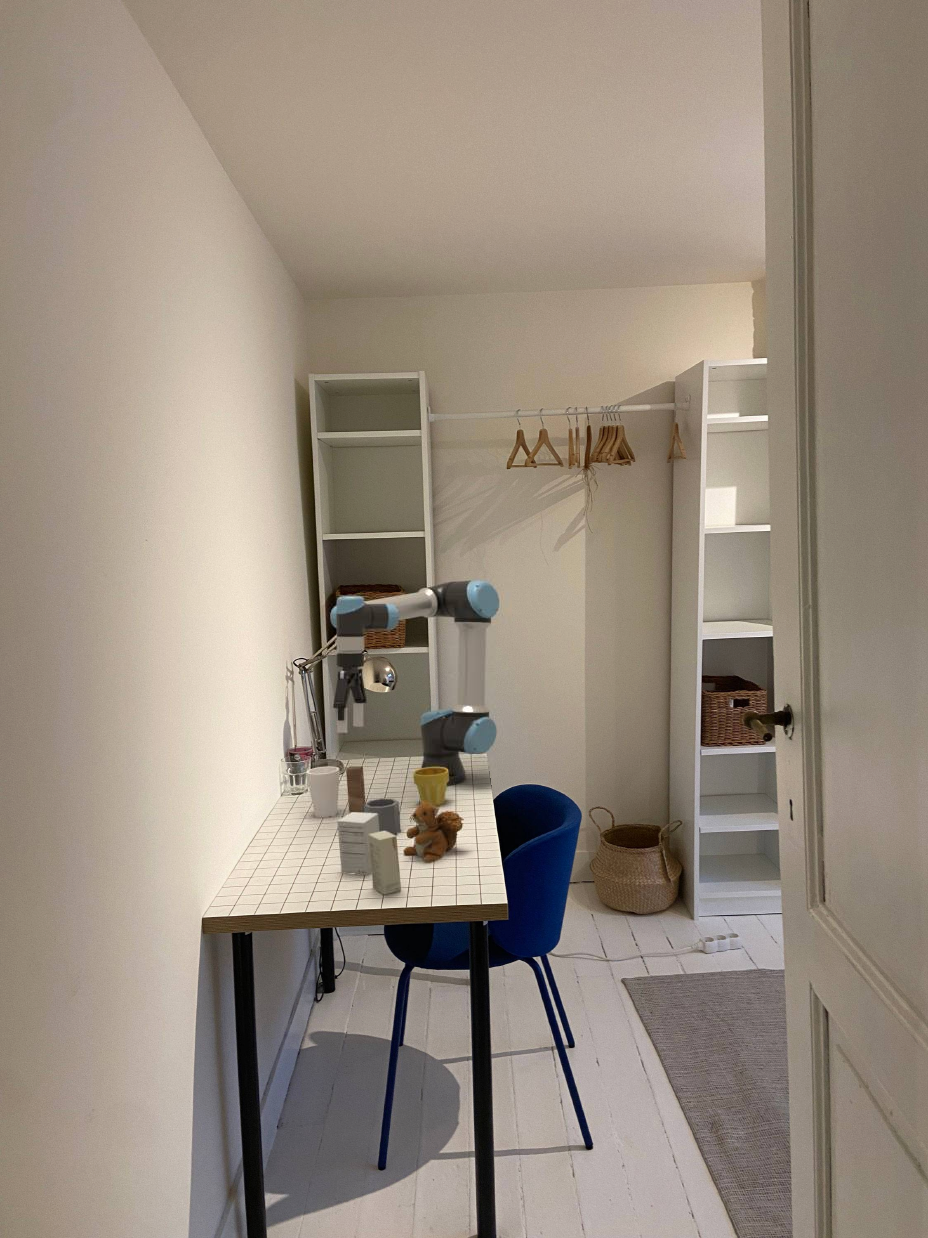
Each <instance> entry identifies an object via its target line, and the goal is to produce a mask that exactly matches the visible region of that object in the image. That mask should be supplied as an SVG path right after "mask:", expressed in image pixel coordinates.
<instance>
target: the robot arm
mask: <svg viewBox="0 0 928 1238" xmlns="http://www.w3.org/2000/svg"><path fill="white" fill-rule="evenodd" d="M499 608H500V597H499V594H498V592H497V589H496V588H494V585H493V584H491V583H490V582H488V581H485V580H478V579H474V580H463V581H462V580H461V581H460V580H459V581H448V582H443V583H440V584H436V585H432V586H429V587H423V588H421V589H419V590H418V591H417V592H413V593H406V594H401V595H400V594H399V595H395V596H390V597H389V596H388V597H384V598H377V599H371V600H366V601H365V598H364V597H363V596H360V595H359V596H354V595H353V596H351V595H350V596H345V595H344V596H343V595H342V596H339V597H338V598H337V600H336V605H335V606H333V608H332V609H331V612H330V615H329V616H330V623H331V625H332V626H333V627H334V628H335V629H336V639H335V641H334V643H335V644H336V651H337V654H336V666H337V667H338V668H342V670H338V671H337V681H336V686H335V687H336V688H335V692H334V699H333V705H332V707H333V709H336V733H337V734H339V733H345V734H347V733H348V708H347V704H348V700H349V697H350V692H351V694H352V697H353V700H354V703H353V704H352V706H353V707H352V708H353V710H352V711H353V714H352V715H353V716H352V717H353V727H356V728H357V727H358V728H359V727H360V728H361V727H362V728H363V727H364V704H367V701H368V700H367V694H366V689H365V688H366V687H365V683H364V676H363V668H361V667H364V665H365V654H364V652H363V651H365V631H392V630H394V629H395V628H396V627H397V626H398V624H399V621H402V620H406V619H407V620H408V619H413V618H417V617H424V618H427V619H430V618H437V617H438V618H439V617H442V618H453V622H454V625H455V626H457V628H458V649H457V650H458V655H457V658H458V659H457V663H458V664H457V701H456V703H457V704H456V706H455V707H452V708H443V709H437V710H431V711H426V712H424V713H423V714H422V715H421V716H420V732H421V744H422V754H423V759H422V763H421V767H420V769H421V768H427V767H444V768H447V769H448V771H449V781H448V782H447V786H451V785H455V784H460V783H463V782H464V781H466V779H467V777H466V773H467V772H466V770H465V767H464V765H463V762H462V760H461V757H460V753H466V754H469V755H482V754H485V753H487V752H488V751H489V750H490V749H491V747H493V745H494V743H495V741H496V738H497V733H498V730H497V729H498V728H497V725H496V723H495V721H494V720H493V719H492V718H491V717H490V709H488V708H487V707H486V704H485V701H486V698H485V696H486V693H485V691H486V654H487V653H486V652H487V651H486V650H487V648H486V647H487V645H486V643H487V629H488V627H489V626H491V624H492V618H493V617H494V616H495V615H497V612H498V611H499Z"/></svg>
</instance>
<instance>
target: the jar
mask: <svg viewBox="0 0 928 1238" xmlns="http://www.w3.org/2000/svg"><path fill="white" fill-rule="evenodd" d="M364 813H377V814H378V820H379V832H381V831H387V832H390V833H392V834H394V835H395V834H396V835H398V834H397V833H398V832H399V833H400V832H401V830H402V829H401V828H402V827H401V816H400V814H401V813H400V801H399V800H397V799H395V798H385V797H384V798H383V797H382V798H376V799H371V800H368V801H367V802H365V804H364ZM396 835H395V836H396Z"/></svg>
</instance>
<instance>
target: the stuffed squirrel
mask: <svg viewBox="0 0 928 1238" xmlns="http://www.w3.org/2000/svg"><path fill="white" fill-rule="evenodd" d="M413 811H414V812H413V813H412V814H411V815H410V817H409V818H408V819H409V820H410V821H409V822H410V823H411V822H412V820H413V821H414V823H416V824H417V825H415V826H413V827H410V828H408V829H407V831H406V833H405V834H406V837H407V838H408V839H410V840H411V839H414V838H415V839H414V844H413V846H407V847H405V848H404V849H403V850H402V851H403V854H404V855H405V856H415V855H416V856H417V855H418V856H419V857H422V858H423V859H424V862H425V863H428V864H430V863H432V862H436V861H438V860H441V859H442V858H443V857H444V855H445V853H448V852H450V851H451V850H452V849H454V847H455V846H456V844H457V838H458V837H457V836H458V832H459V831H460V832H461V830H463V827H464V826H463V825H464V823H463V822H462V821H464V820H465V818H463V817H462V816H460V815H459V814H458V813H456V812H454V811H448V810H446V811H443V812H441V813H439V811H440V806H439V805H438V806H434V805H432V804H430V803H427V802H425V801H422V802H420V804H419V805H417V808H416V809H414V810H413ZM437 813H439V814H438V815H437Z"/></svg>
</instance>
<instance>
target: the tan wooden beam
mask: <svg viewBox="0 0 928 1238" xmlns="http://www.w3.org/2000/svg"><path fill="white" fill-rule="evenodd" d="M345 772H346V773H345V774H346V775H345V776H346V786H347V787H346V788H347V798H348V799H347V802H348V812H349V813H348V814H350V813H351V812H359V813H364V804H365V803H366V791H365V776H364V766H361V765H360V766H359V765H358V766H357V765H355V766H353V765H351V766H347V767H346V768H345Z"/></svg>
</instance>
